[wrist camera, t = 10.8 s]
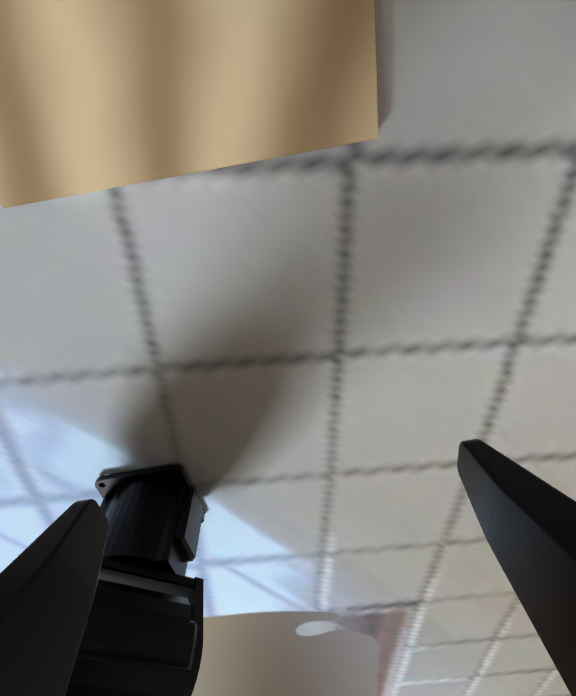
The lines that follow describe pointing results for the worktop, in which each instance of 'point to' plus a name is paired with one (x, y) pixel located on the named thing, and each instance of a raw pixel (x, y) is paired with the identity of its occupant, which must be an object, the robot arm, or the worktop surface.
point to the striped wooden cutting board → (175, 88)
